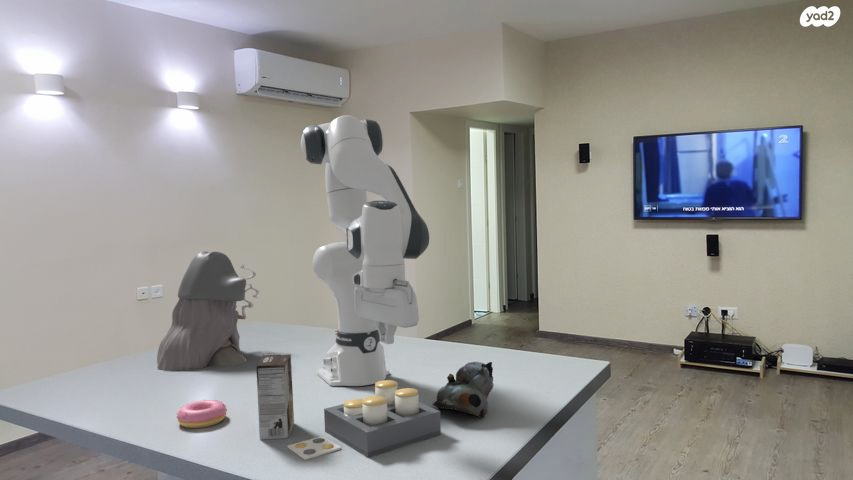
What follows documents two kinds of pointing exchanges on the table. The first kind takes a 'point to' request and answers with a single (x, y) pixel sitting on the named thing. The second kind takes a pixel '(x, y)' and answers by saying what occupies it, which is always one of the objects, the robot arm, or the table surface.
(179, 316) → the bust
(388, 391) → the button
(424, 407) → the board
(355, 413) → the button
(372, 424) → the button
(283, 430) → the coffee box
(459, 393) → the lucky cat figurine
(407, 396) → the button
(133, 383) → the table surface
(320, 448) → the card
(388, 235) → the robot arm
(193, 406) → the doughnut
